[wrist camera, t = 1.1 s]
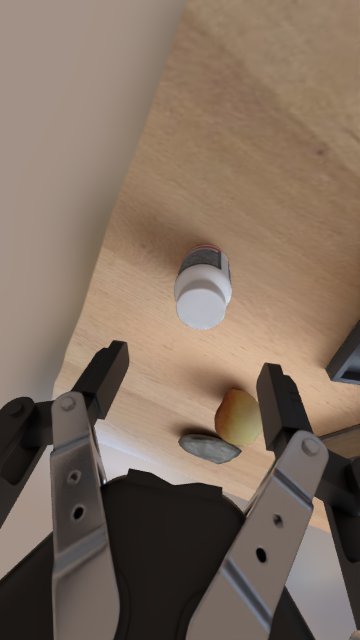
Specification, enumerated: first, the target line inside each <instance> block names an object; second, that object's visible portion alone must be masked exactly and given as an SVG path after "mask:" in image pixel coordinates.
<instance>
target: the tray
mask: <svg viewBox="0 0 360 640" xmlns="http://www.w3.org/2000/svg"><path fill="white" fill-rule="evenodd" d="M325 370H326V372H327V374H328V376H329V378H330V380H331V381H335V382H342V383H349V384H356V385H360V320H359V322H358V323H357V325H356V326H355V328H354V329H353V330H352V332H351V333H350V335H349V336H348V338H347V339H346V341H345V342H344V343H343V345H342V346H341V348H340V349H339V351H338V352H337V354H336V355H335V356H334V358H333V359H332V361H331V362H330V364H329V365H328V367H327V368H326V369H325Z"/></svg>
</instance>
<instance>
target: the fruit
mask: <svg viewBox="0 0 360 640" xmlns="http://www.w3.org/2000/svg"><path fill="white" fill-rule="evenodd" d="M215 430H216V432H217V433H218V435H219V436H220V437H221V438H222V439H223V440H224V441H226V442H228V443H230V444H233V445H240V446H244V445H249V444H251V443H253V442H254V441H255V440H256V439H257V438H258V437H259V436H260V434H261V432H262V430H263V426H262V420H261V414H260V408H259V404H258V402H257V401H256V400H255V398H254V397H252V396H251V395H250V394H248V393H246V392H244V391H241V390H234V389H233V388H232V389H230V390H229V391H228V392H227V393H226V395H225V397H224V399H223V401H222V403H221V405H220V406H219V408H218V409H217V412H216V414H215Z"/></svg>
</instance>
